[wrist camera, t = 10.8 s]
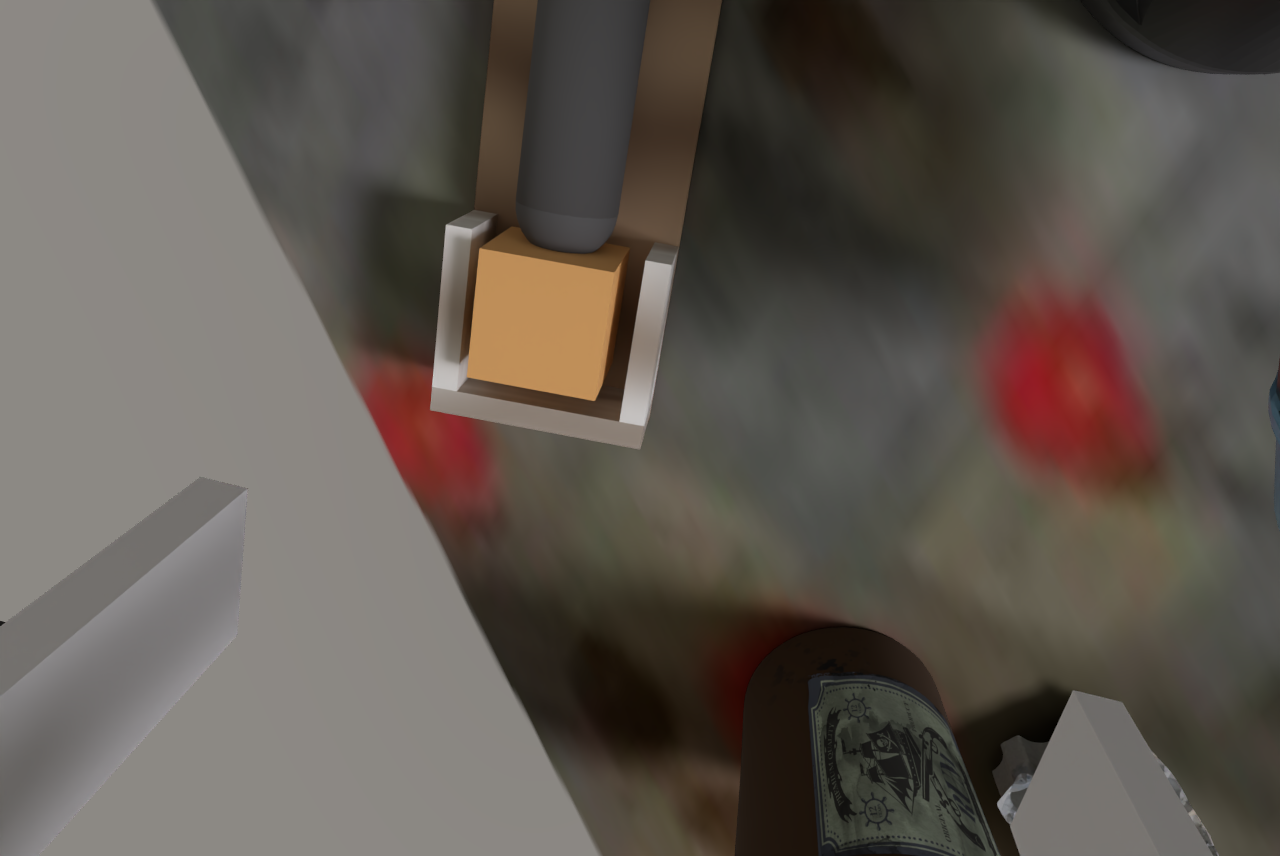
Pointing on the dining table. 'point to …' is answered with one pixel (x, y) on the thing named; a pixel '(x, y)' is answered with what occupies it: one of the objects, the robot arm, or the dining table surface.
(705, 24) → the wooden stand
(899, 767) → the olive oil
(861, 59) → the dining table surface
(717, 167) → the dining table surface
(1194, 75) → the dining table surface
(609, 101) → the grey handled block hammer
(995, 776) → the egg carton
